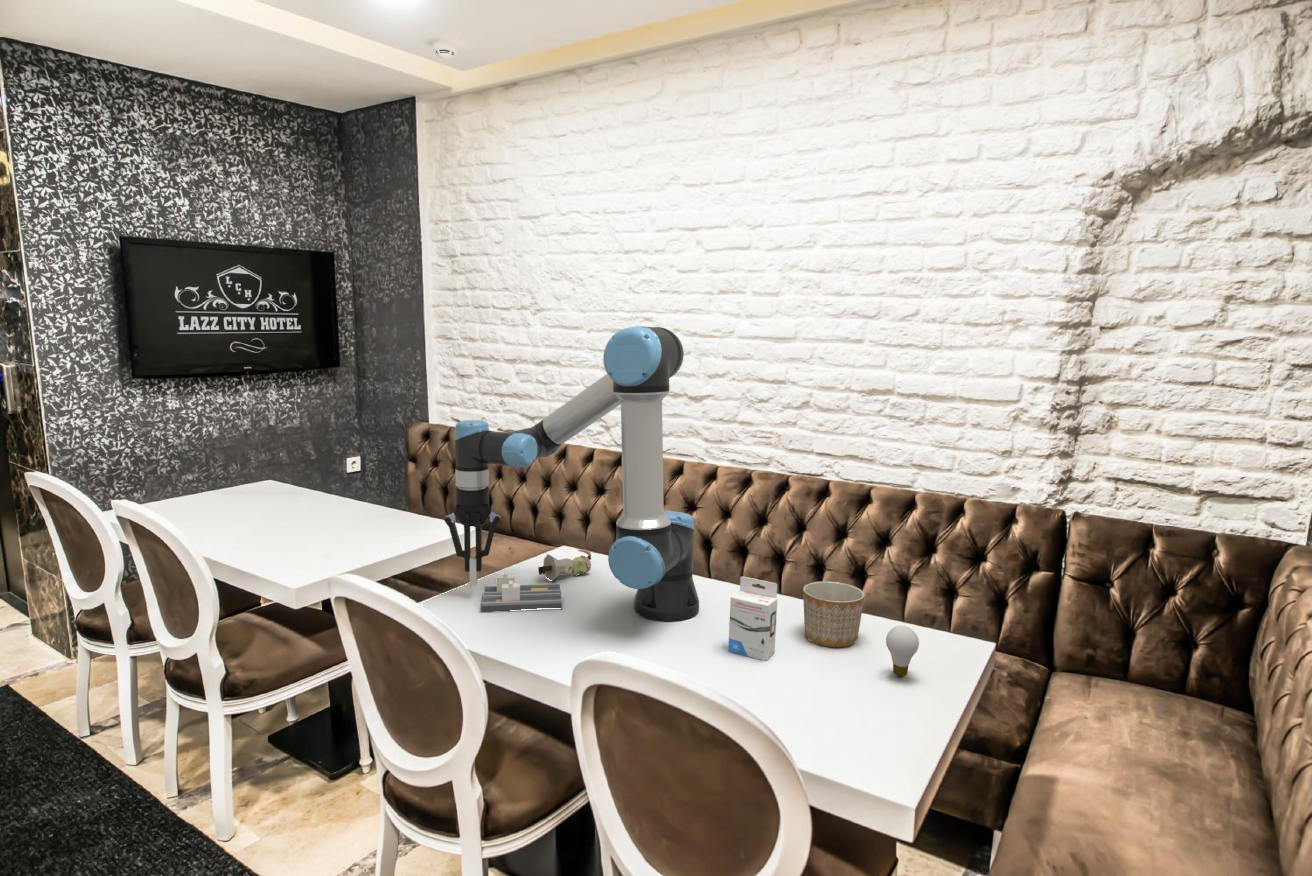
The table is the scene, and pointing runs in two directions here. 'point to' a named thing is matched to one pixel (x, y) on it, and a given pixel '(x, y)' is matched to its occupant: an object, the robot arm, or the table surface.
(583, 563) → the figurine
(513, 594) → the tab
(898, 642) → the light bulb
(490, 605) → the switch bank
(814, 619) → the planter
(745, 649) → the ink box
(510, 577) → the tab
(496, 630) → the table surface
